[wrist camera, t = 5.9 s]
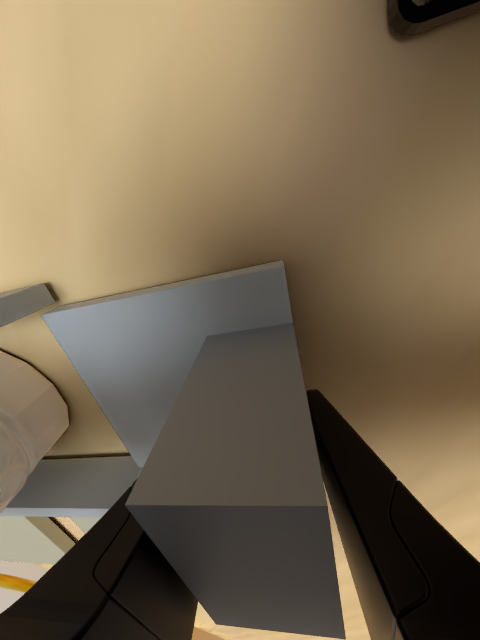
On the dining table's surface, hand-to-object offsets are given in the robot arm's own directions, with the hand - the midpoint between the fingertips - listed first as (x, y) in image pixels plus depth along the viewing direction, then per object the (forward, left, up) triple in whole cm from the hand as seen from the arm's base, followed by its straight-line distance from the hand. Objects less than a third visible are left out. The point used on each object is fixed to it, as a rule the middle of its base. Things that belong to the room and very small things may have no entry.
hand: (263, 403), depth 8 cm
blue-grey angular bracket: (+8, 0, -2) cm, 9 cm away
